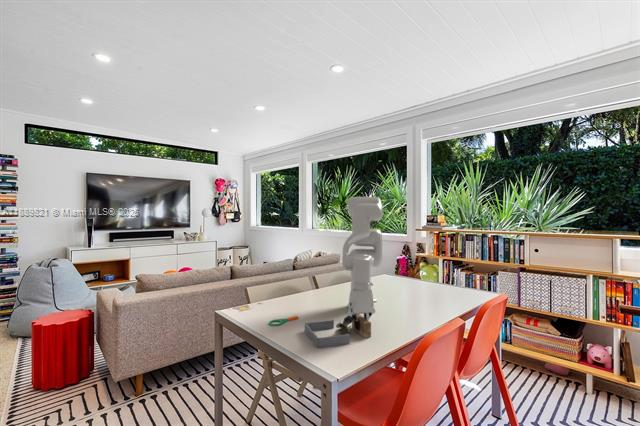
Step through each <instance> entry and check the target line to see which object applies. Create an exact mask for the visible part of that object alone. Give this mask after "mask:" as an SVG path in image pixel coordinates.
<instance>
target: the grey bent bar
mask: <svg viewBox="0 0 640 426" xmlns="http://www.w3.org/2000/svg"><path fill="white" fill-rule="evenodd" d="M334 322H335V320H334V319H329V320H322V321H321V320H319V321H310V322H304V333H306V335H307V336H308V338H309V339H310V340H311V342H312V343H313V345H315V347H316V348H317V349H322V348H329V347H334V346H335V347H336V346H342V345H348V344H350V334H349V333H346V334H343V335H342V334H340V335H332V336H324V337H318V335H317V334H315V331H321V330H330V329H335V327H334V325H335V323H334Z"/></svg>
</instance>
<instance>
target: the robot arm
mask: <svg viewBox="0 0 640 426" xmlns="http://www.w3.org/2000/svg"><path fill="white" fill-rule="evenodd" d="M346 205H347V209H348V213H349V215H350V218H351V226H352V227H351V229H352V230H351V232H352V233H351V234H350V235H349V236H348V237H347V238H346V240H345V241H344V244H343V246H342V254H341V255H342V259H341V262H342V263H341V265H342V267H343V269H344V270H345V271H348V272H350V291H349V298H348V304H347V308H348V310H347V313H346V316H351V317H352V318H353V319H354V320H355V321H354V326H355V329H357V330H358V331H359V330H360V321H359V315H362V314H363V317H364V318H365V319H367V320H368V321H369V320H370V318H371V316H372V315H374V314H375V313H376V309H375V307H374V305H375V303H376V304H377V300H378V299H376V298H374V296H373V295H374V294H373V289H372V287H373V286H374V283H373V282H371V277H372V276H371V275H372V273H371V271H372V270H373V268H375V267H376V268H377V267H381V266H382V263H383V235H382V232H381V230H380V229H378V228H371V221H375V222H378V221H381V220H382V218H383V213H384V211H383V210H384V209H383V205H382V201H381V198H379V197H378V196H353V197H350V198H348V200H347V204H346ZM352 245H354V246H357V247H372V248H353V249H351V250H350V248H351V247H352ZM349 251H350V252H349Z"/></svg>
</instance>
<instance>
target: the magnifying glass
mask: <svg viewBox="0 0 640 426" xmlns="http://www.w3.org/2000/svg"><path fill="white" fill-rule="evenodd" d="M298 319H299V316H298V315H294V316H290V317H286V318H279V319H278V318H277V319H275V318H274V319H272V320H270V321H269V322H268V326H271V327H278V326H279V327H280V326H282V325H283V324H286V323H288V322H291V321H294V320H298ZM274 323H275V324H274Z"/></svg>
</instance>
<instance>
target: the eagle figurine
mask: <svg viewBox="0 0 640 426" xmlns="http://www.w3.org/2000/svg"><path fill="white" fill-rule="evenodd" d="M352 322H353V318H352V317H351V316H349V315H346V316H345V317H344V318H343V321H342V322H338V323H336V325H335V327H336V329H340V331H341V332H342V334H341V335H345V333H346V331H347V332H348V333H351V331H350V329H351V328H352V325H350V324H352ZM348 325H350V326H348Z"/></svg>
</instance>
